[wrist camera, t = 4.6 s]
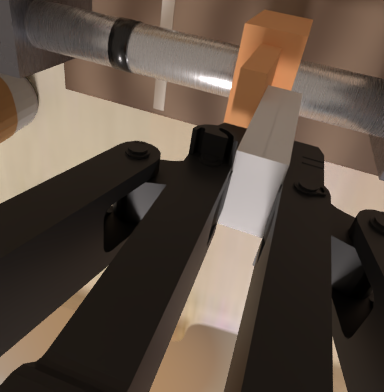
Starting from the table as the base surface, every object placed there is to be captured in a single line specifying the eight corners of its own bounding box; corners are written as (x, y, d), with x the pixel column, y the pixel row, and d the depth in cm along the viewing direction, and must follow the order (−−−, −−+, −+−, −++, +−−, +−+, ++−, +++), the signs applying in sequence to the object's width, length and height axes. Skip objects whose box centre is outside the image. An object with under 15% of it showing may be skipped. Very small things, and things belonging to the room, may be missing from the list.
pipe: (455, 46, 22) (514, 84, 15) (407, 131, 26) (437, 195, 19) (57, -37, 27) (-40, -38, 20) (62, 44, 31) (-18, 68, 24)
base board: (486, -28, 21) (496, -28, 20) (379, 168, 29) (382, 177, 28) (65, -101, 26) (51, -104, 25) (74, 84, 34) (65, 89, 33)
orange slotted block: (313, 19, 21) (301, 60, 12) (281, 118, 25) (254, 206, 16) (264, 9, 22) (218, 41, 12) (241, 107, 25) (192, 186, 16)
